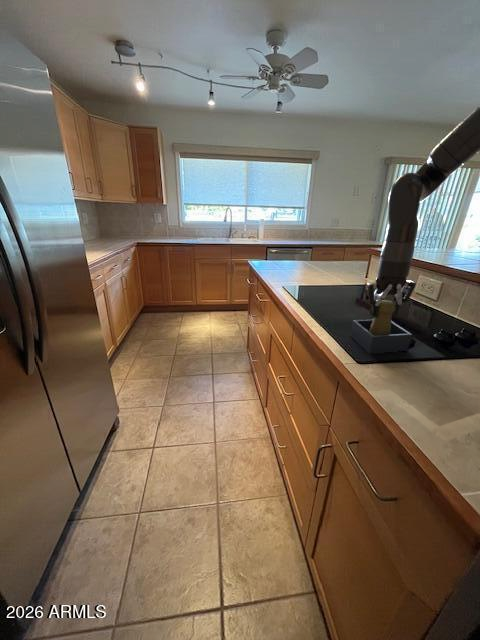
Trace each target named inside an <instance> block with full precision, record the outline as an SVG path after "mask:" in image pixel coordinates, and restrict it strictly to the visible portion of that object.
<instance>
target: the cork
mask: <svg viewBox="0 0 480 640" xmlns="http://www.w3.org/2000/svg"><path fill="white" fill-rule="evenodd" d="M394 311H395V304H394V303H393V301H391V300H388V299H387V300H386V299H383V300H382V301H381V303H380V304H379V311H378V316H377V318H372V319H373V322H372V324H371V327H370V330H369V332H370V333H372V334H373V335H374V336H376V335H390V333H391V321H392V313H393V312H394Z"/></svg>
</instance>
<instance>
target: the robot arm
mask: <svg viewBox="0 0 480 640" xmlns="http://www.w3.org/2000/svg"><path fill="white" fill-rule="evenodd" d="M478 153H480V105H479V106H477V107H476V108H475V109H474V110H472V112H471V113H469V114H468V115H467V116H466V117H465V118H464V119H463V120H461V122H460V123H458V124H457V125H456V126H455V127H454V128H453V129H452V130H451V131H450V132H449V133H448V134H446V136H445V137H444V138H442V139H441V141H440V142H438V143H437V144H436V145H435V146H434V147H433V149H431V150H430V153H429V155H428V158H427V159H426V160H425V161H424V162H423V163H422V164H421V166H420V167H418V168H417V169H416V170H415V171H414V172H407V173H403V174H402V175H400V176H398V178H397V179H395V181H394V182H393V184H392V186H391V188H390V191H389V194H388V202H387V203H388V204H387V221H388V222H387V227H386V230H385V236H384V242H383V245H382V247H381V252H380V257H379V262H378V267H377V272H376V274H377V277H376V279H375V281H373V282H368V281H366V282H365V283H364V300H365V302H366V303H368V304H370V308H369V309H370V310H369V315H370V316H371V317H372V319H374V318H377V316H378V311H379V304H380V303H381V301H382V300H385V299H386V297H387V296H391V299H392V302H393V303H394V304H395V311H394V312H393V313H392V317H393V318H395V317H397V315H398V314H399V311H400V307H401V305H402V304H404V303H408V302H409V301H410V298H411V296H412V293H413V292H414V290H415V288H416V286H417V283H416V282H415V281H412V280H409V279H408V280H407V278H408V277H409V274H410V270H411V265H412V262H413V258H414V254H415V247H416V240H417V236H418V233H419V232H418V231H419V227H420V219H419V218H418V213H419V210H420V209H419V208H420V204H421V203H422V202H423V201H425V200H426V199H428V198H429V197H430V196H432V194H433V193H434V192H436V191H437V189H438V188H440V187H441V186H442V184H444V182H446V180H448V178H449V177H450V176H451V175H452V174H454V172H456V171H457V170H458V169H460V168H461V167H463V165H465V164H466V163H467V162H469V161H470V160H471V159H472V158H473V157H475V156H476V155H477V154H478Z"/></svg>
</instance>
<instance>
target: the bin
mask: <svg viewBox="0 0 480 640" xmlns="http://www.w3.org/2000/svg"><path fill="white" fill-rule="evenodd" d="M373 319H374V318H372V319H369V318H368V319H355V320H354V319H353V320H352V322H351V328H350V329H351V330H350V335H349V336H350V337H351V339H353V340H354V341H355V342H356V343H357V344H358V345H359V346H360V347H361V348H363V350H365V351H366V352H367V354H368V355H377V354H378V355H379V353H380V354H386V353H385V352H394V353H399V352H398V351H409V348H410V344H411V340H412V338H413V337H412V336H413V334H412V333H411V332H409V331H408V330H406V329H404V328H403V327H401V326H400V325H398V324H397V323H395V322H394V321H392V320H391V333H390V335H376V336H374V335H373V334H372V333H370V332H369V330H370V327H371V324H372V322H373Z"/></svg>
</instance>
